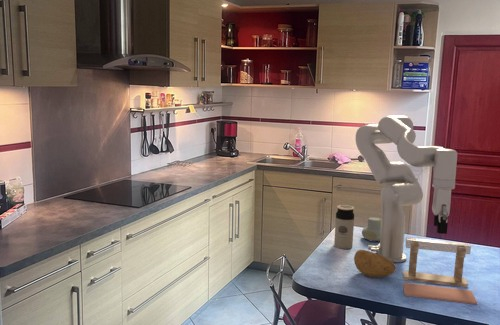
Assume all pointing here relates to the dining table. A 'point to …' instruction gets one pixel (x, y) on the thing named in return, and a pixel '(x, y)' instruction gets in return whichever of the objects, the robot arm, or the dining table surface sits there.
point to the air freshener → (372, 229)
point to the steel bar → (438, 245)
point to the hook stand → (433, 278)
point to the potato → (373, 264)
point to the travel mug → (344, 227)
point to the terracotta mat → (439, 293)
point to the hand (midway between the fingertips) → (440, 229)
